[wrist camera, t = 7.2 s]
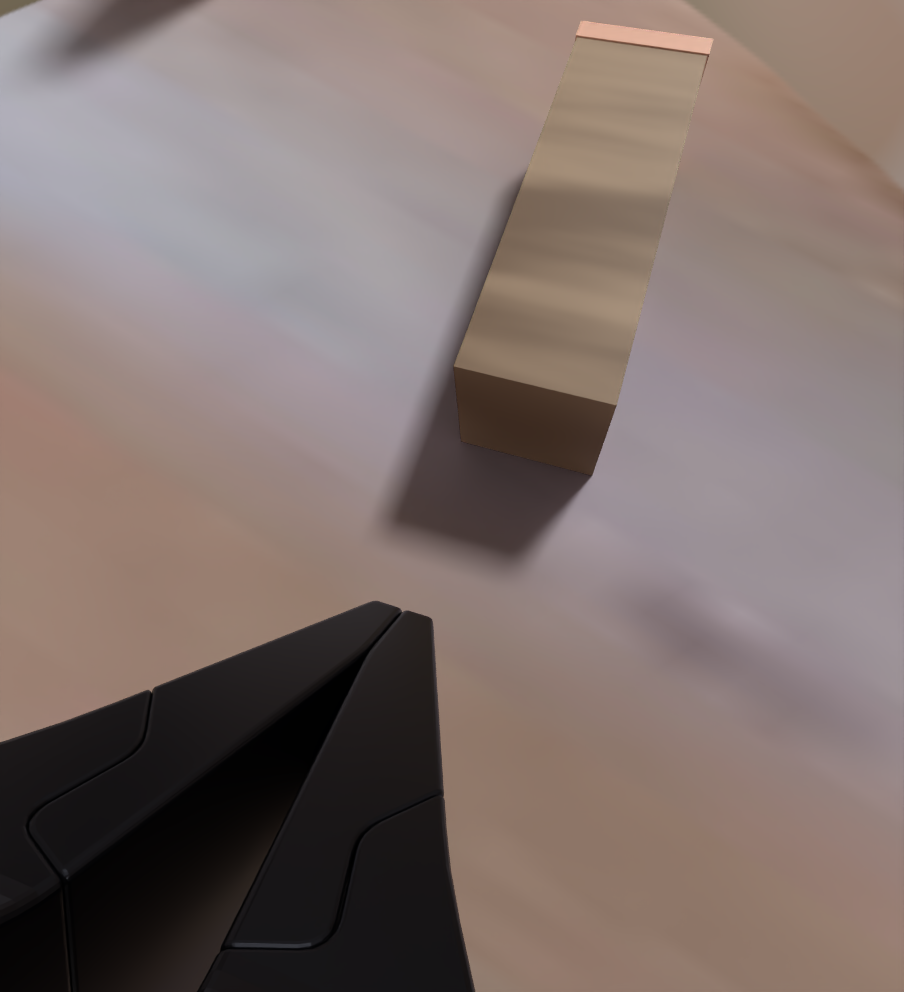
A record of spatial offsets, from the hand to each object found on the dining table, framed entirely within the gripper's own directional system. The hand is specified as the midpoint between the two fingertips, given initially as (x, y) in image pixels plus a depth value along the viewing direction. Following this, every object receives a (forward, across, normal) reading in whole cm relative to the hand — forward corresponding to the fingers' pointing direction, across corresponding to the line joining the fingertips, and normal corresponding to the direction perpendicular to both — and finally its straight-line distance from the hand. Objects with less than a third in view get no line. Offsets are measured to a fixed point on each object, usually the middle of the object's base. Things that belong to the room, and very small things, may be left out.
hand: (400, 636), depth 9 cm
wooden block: (+12, 0, 0) cm, 12 cm away
